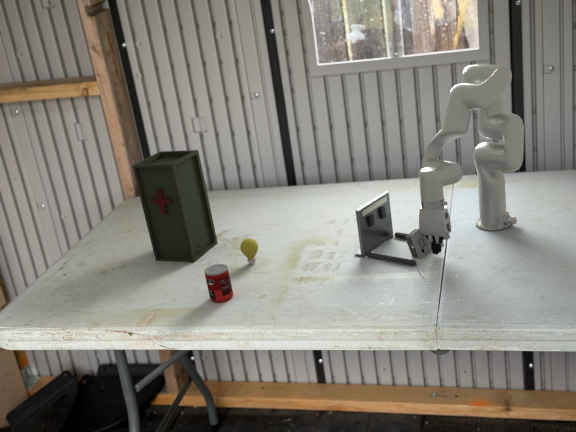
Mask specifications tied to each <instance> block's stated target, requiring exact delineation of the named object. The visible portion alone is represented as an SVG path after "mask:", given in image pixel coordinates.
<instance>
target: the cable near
mask: <svg viewBox="0 0 576 432" xmlns="http://www.w3.org/2000/svg"><path fill="white" fill-rule="evenodd" d="M365 257H366V258H368V259H374V260H379V261H385V262H389V263H390V262H391V263H394V264H400V265H405V266H412V267H415V266H417V260H415V259H410V258H409V259H408V258H405V257H398V256H392V255H387V254H383V253H382V254H380V253H376V252H368V253H367V254H366V256H365Z"/></svg>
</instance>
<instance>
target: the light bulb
mask: <svg viewBox="0 0 576 432" xmlns="http://www.w3.org/2000/svg"><path fill="white" fill-rule="evenodd" d="M239 247H240V252H241V253H242V254H243V255H244V256H245V257H246V258H247V261H246V262H247V263H249V266H254V265H255V264H256V261H257V257H256V255H257V253H258V249H259V244H258V242H257V240H255V239H254V238H251V237H250V238H245V239H243V241H242V242H241V243H240V245H239Z"/></svg>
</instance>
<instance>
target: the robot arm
mask: <svg viewBox="0 0 576 432" xmlns="http://www.w3.org/2000/svg"><path fill="white" fill-rule="evenodd" d="M462 79H463V80H462V81H463V82H464V83H457V84H455V85H453V87H452V88H451V89H450V91H449V94H448V95H449V96H448V99H447V102H446V108H445V113H444V118H443V121H442V126H441V128H440V129H439V131H438V132H437V133H436V134H435V135H434V136H433V137H432V138H431V140H430V141H429V143H428V144H427V145H426V147H425V149H424V153H423V158H422V164H421V169H420V170H419V172H418V180H419V182H418V183H419V191H420V193H419V195H420V203H421V206H420V208H419V215H418V228H419V229H420V232H421V236H424V237H426V238H427V239H428V240H429V242H430V243H431V249H432V250H431V253H432V255H436V256H437V255H439V254H440V253H441V252H442V244H441V241H442V240H443V241H446V240H450V239H451V235H450V233H451V232H452V221H451V217H450V212H449V208H448V207H447V205H448V204H449V203H448V201H446V200H445V195H444V187H446V186H450V185H454V184H457V183H459V182H461V180H462V178H463V176H464V168H463V166H462V165H461V164H460V163H459V162H455V161H450V160H443V159H439V157H440V154H441V152H442V150H443V148H444V147H445V146H446V145H447V144H449V143H450V142H452V141H454V140H457V139H458V138H461V137H464V136H465V135H467V133H468V131H469V126H470V122H471V117H472V112H473V110H474V111H475V110H477V131H478V135H479V136H480V137H481V138H484V139H488V140H495V141H496V140H498V141H503V143H501V142H493V141H483V142H480V143H479V144H477V145H476V146H475V148H474V150H473V153H472V155H473V162H474V163H473V164H474V167H475V170H476V176H477V190H478V191H477V192H478V206H479V207H478V208H479V209H478V210H479V218H478V219H477V220H476V221H475V226H476V227H477V228H478V229H480V230H484V231H501V230H505V229H507V228H509V227H510V226H511V225H517V223H518V219H517V217H516V216H514V215H513V216H511V215H510V211H507V196H506V178H505V174H504V172H507V173H509V172H510V173H512V172H516V171H518V170H519V169H520V168H521V167H522V165H523V161H524V151H525V150H524V147H525V145H524V139H525V134H524V133H525V126H524V121H523V119H522V117H521V116H520V115H518V114H515V113H512V112H504V101H503V96H502V95H503V94H504V93H505V91H506V90H507V89H508V88H509V87H510V85H511V82H512V79H513V74H512V70H511V68H509V66H507V65H504V64H488V63H487V64H483V63H482V64H479V63H478V64H469V65H467V66H465V67H464V69H463V70H462Z"/></svg>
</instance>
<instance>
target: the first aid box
mask: <svg viewBox="0 0 576 432" xmlns="http://www.w3.org/2000/svg"><path fill="white" fill-rule="evenodd" d="M131 166H132V171H133V174H134V178H135V182H136V188H137V190H138V193H139V198H140V203H141V206H142V211H143V214H144V218H145V222H146V226H147V231H148V235H149V240H150V243H151V247H152V251H153V255H154V260H155V261H157V262H173V263H174V262H175V263H196V262H197V261H198V260H199V259H200V258H201V257H203V256H205V254H206V253H208V252H209V251H210V250H211V249H213V248H214V247H215V246H216V245H217V244H218V239H217V233H216V228H215V224H214V219H213V214H212V210H211V206H210V200H209V197H208V196H209V194H208V191H207V185H206V181H205V175H204V171H203V167H202V162H201V157H200V152H199V149H193V150H192V149H190V150H189V149H188V150H168V151H166V150H162V151H158V152H156V153H154V154H153V155H150V156H148V157H146V158H145V159H142V160H140V161H138V162H137V163H135V164H133V165H131Z"/></svg>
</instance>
